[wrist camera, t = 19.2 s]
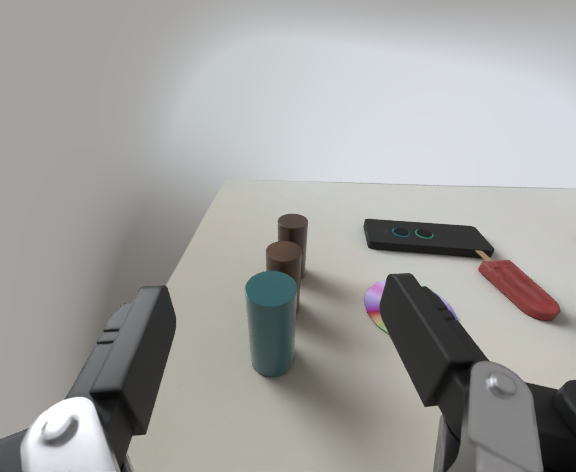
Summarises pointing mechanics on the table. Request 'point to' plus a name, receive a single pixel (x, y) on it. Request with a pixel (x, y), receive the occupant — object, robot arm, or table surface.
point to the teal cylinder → (271, 321)
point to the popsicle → (519, 288)
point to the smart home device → (425, 238)
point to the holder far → (294, 233)
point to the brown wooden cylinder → (285, 261)
